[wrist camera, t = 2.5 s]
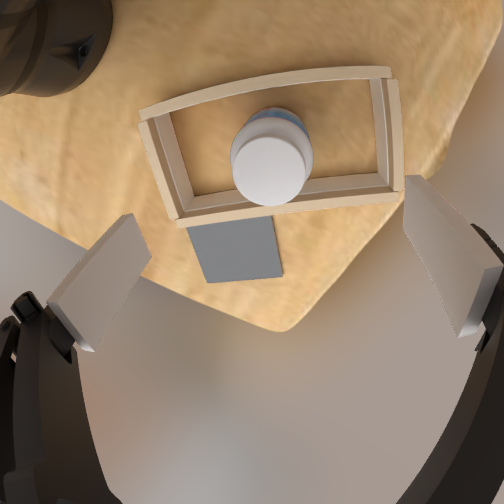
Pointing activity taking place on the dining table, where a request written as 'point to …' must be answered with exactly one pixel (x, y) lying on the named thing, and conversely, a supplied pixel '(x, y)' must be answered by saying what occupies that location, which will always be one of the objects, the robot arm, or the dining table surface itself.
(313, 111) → the dining table surface
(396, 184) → the beige frame
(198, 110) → the dining table surface
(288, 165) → the pill bottle
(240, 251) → the coaster
